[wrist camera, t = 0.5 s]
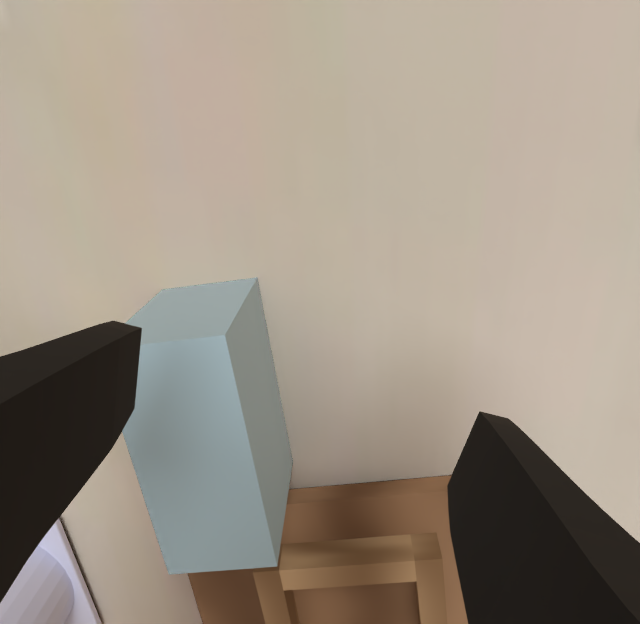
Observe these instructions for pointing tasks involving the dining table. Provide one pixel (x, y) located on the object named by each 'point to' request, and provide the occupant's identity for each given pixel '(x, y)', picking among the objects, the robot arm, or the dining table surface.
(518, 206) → the dining table surface
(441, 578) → the cradle
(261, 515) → the tall light blue prism
